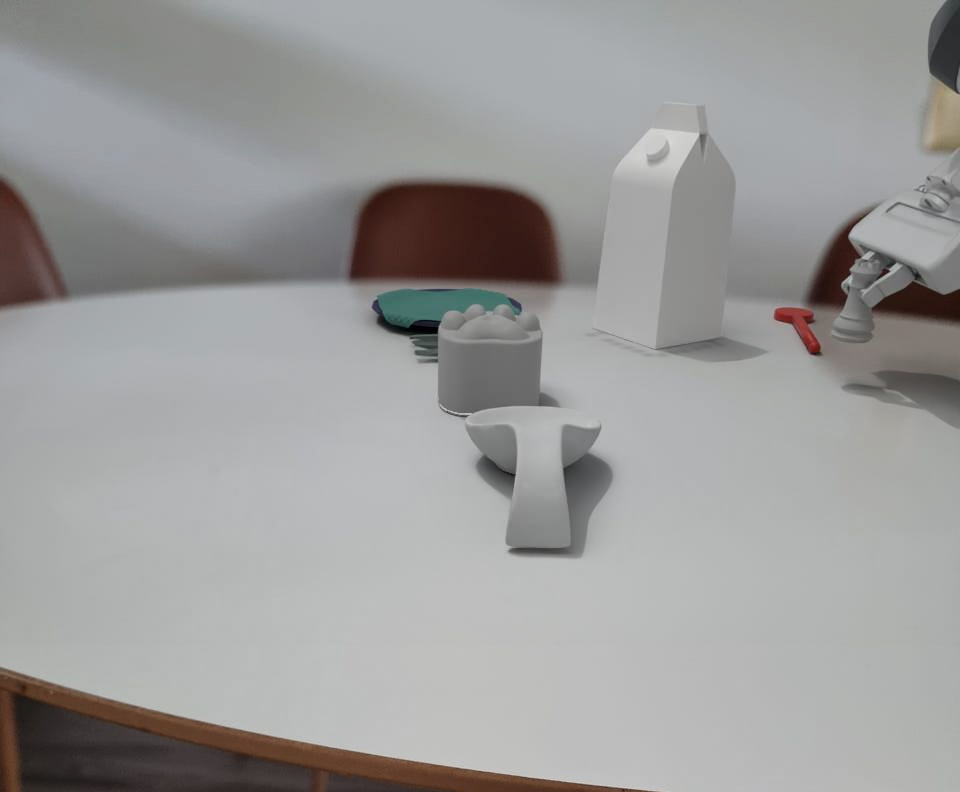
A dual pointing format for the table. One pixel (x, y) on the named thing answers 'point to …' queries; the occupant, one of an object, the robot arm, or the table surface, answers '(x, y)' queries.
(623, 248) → the milk
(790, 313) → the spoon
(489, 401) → the lumpy-topped squat cylinder
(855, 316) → the rook chess piece
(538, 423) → the spoon rest
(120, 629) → the table surface
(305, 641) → the table surface
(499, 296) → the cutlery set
